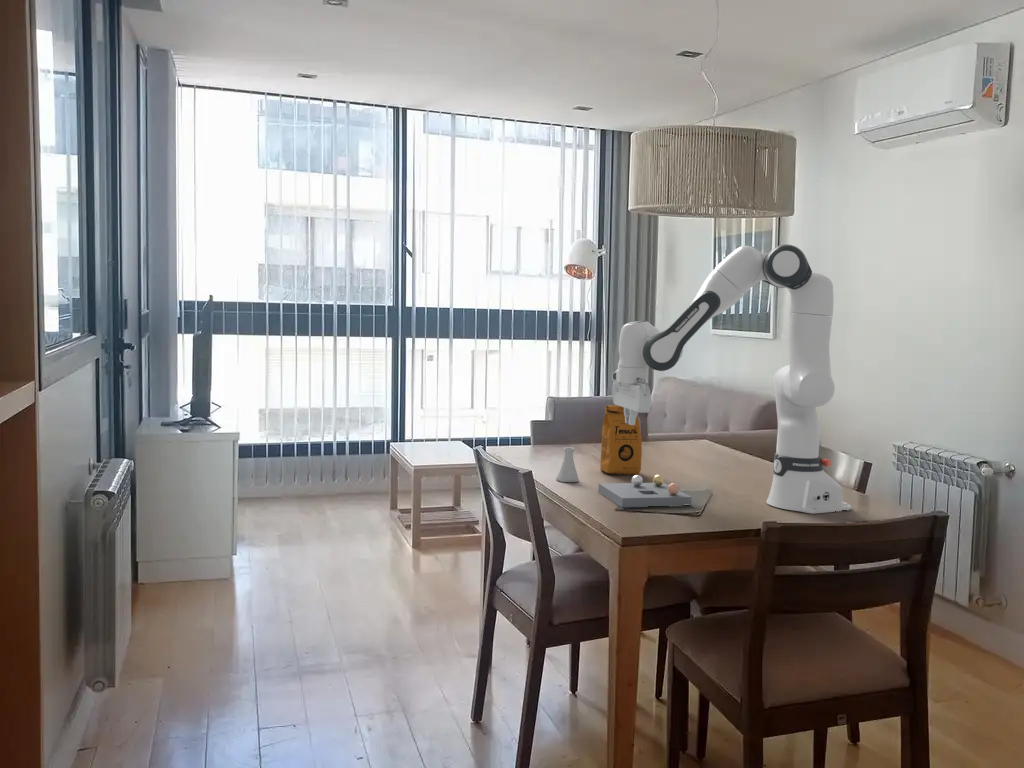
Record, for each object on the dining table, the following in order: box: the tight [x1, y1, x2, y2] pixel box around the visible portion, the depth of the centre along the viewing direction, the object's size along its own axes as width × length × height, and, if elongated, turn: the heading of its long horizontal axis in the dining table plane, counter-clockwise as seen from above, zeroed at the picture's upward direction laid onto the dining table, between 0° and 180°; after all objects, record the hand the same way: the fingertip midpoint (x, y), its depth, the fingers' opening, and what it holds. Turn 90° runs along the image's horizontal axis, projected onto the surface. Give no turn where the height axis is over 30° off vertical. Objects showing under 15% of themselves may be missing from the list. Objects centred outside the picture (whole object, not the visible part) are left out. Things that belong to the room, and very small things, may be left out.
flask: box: [555, 446, 580, 483], centre depth 251 cm, size 7×7×10 cm
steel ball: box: [631, 474, 644, 486], centre depth 235 cm, size 3×3×3 cm
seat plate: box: [597, 482, 692, 508], centre depth 230 cm, size 20×18×2 cm
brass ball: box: [652, 474, 665, 486], centre depth 237 cm, size 3×3×3 cm
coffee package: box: [599, 404, 643, 476], centre depth 265 cm, size 10×12×22 cm
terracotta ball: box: [668, 482, 680, 495], centre depth 226 cm, size 3×3×3 cm
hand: (630, 424), depth 241 cm, fingers closed
